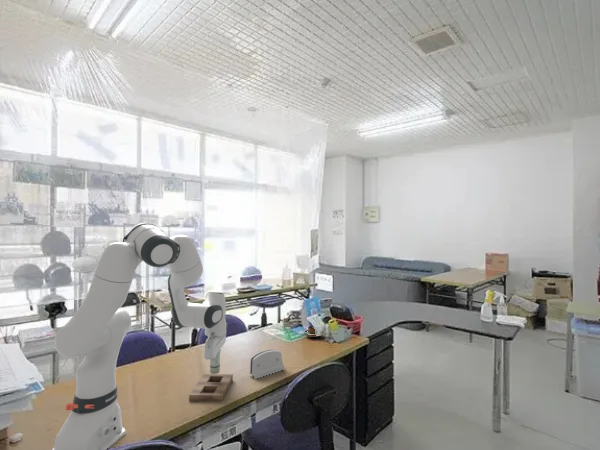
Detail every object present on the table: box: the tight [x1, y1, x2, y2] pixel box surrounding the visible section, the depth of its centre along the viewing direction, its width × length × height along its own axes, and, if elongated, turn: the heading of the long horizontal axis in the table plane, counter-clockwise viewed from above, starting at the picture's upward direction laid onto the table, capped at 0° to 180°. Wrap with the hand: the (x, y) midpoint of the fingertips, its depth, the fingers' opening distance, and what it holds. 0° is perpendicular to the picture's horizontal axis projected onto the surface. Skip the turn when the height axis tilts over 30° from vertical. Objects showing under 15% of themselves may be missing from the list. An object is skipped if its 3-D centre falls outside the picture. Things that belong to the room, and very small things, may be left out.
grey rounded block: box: [248, 349, 285, 380], centre depth 156 cm, size 17×5×10 cm, turn 127°
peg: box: [209, 350, 221, 374], centre depth 143 cm, size 4×4×9 cm
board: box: [188, 373, 234, 402], centre depth 139 cm, size 18×13×2 cm
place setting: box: [303, 325, 316, 338], centre depth 213 cm, size 18×20×6 cm
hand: (215, 361), depth 143 cm, fingers closed on peg, 4 cm apart
